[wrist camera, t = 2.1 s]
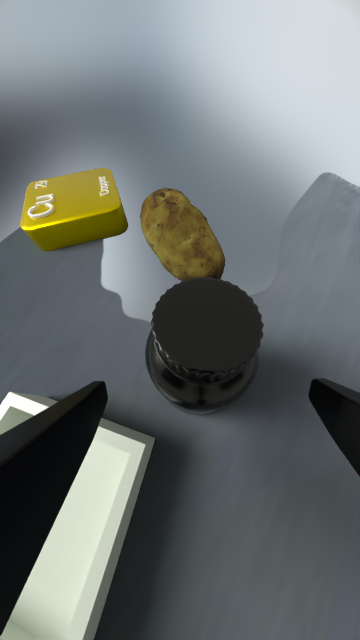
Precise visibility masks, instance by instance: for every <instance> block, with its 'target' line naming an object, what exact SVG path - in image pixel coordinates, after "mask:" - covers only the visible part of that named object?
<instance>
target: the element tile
mask: <svg viewBox="0 0 360 640" xmlns="http://www.w3.org/2000/svg"><path fill="white" fill-rule="evenodd" d="M20 226H21V228H22V229H23V230H24V232H25V233H26V234H27V235H28V236H29V237H30V238H31V239H32V241H33V242H34V243H35V244H36V245H37V246H38V247H39V248H40V250H43V251H52V250H56V249H60V248H64V247H68V246H72V245H76V244H80V243H84V242H88V241H92V240H96V239H101V238H103V239H106V238H110V237H114V236H118V235H121V234H123V233H124V232H125V231H126V230H127V228H128V222H127V219H126V216H125V213H124V209H123V206H122V203H121V200H120V197H119V193H118V190H117V187H116V184H115V181H114V178H113V175H112V172H111V171H110V170H109V169H107V168H99V169H94V170H89V171H84V172H79V173H74V174H69V175H64V176H59V177H54V178H49V179H44V180H39V181H35V182H31V183H30V184H29V186H28V188H27V191H26V196H25V202H24V206H23V211H22V217H21V222H20Z"/></svg>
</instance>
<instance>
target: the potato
mask: <svg viewBox="0 0 360 640" xmlns="http://www.w3.org/2000/svg"><path fill="white" fill-rule="evenodd" d="M140 218H141V227H142V231H143V234H144V236H145V238H146V240H147V242H148V244H149V245H150V247H151V248H152V250H153V251H154V252H155V254H156V255H157V256H158V258H159V259H160V261H161V263H162V265H163V266H164V268H165V269H166V270H167V271H168V272H169V273H171V274H172V275H173V276H174V277H177V278H178V279H179V280H181V281H186V280H189V279H191V278H199V277H203V278H208V277H211V278H214V279H220V278H221V276H222V273H223V270H224V266H225V258H224V254H223V251H222V249H221V247H220V244H219V243H218V241H217V239H216V237H215V235H214V233H213V231H212V230H211V228H210V226H209V224H208V222H207V218H206V217H204V215H203V214H202V212H201V211H200V210H199V209H197V208H196V207H195V206H193V205H192V204H191V203H190V201H189V200H188V198H187V197H186V196H185V195H184V194H183V193H182V192H181V191H178V190H175V189H167V188H164V189H159V190H157V191H155V192H153V193H152V194H150V195H149V196H148V197H147V198H146V199H145V200H144V202H143V204H142V210H141V214H140Z"/></svg>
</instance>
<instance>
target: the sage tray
mask: <svg viewBox="0 0 360 640" xmlns="http://www.w3.org/2000/svg"><path fill="white" fill-rule="evenodd" d="M57 402H58V401H55V400H53V399H50V398H47V397H43V396H36V395H29V394H21V393H14V392H9V393H8V395H7V396H6V398H5V399H4V401H3V402H2V403H1V405H0V435H1V434H3V433H4V432H6V431H8V430H10V429H11V428H13V427H15V426H17V425H18V424H20V423H22V422H24V421H25V420H27V419H29V418H31V417H33V416H34V415H36V414H38V413H40V412H41V411H43V410H45V409H47V408H48V407H50V406H52V405H54V404H55V403H57ZM154 441H155V438H154V437H151V436H148V435H146V434H143V433H140V432H138V431H135V430H132V429H130V428H127V427H124V426H122V425H119V424H116V423H114V422H111V421H108V420H106V419H103V418H101V420H100V423H99V426H98V429H97V431H96V434H95V437H94V439H93V441H92V443H91V446H90V448H89V450H88V452H87V454H86V456H85V458H84V461H83V463H82V465H81V467H80V469H79V471H78V473H77V475H76V478H75V480H74V482H73V484H72V486H71V488H70V490H69V492H68V495H67V497H66V499H65V501H64V503H63V505H62V507H61V510H60V512H59V514H58V516H57V518H56V520H55V522H54V524H53V527H52V529H51V531H50V533H49V535H48V537H47V539H46V541H45V544H44V546H43V548H42V550H41V552H40V554H39V556H38V559H37V561H36V563H35V565H34V567H33V569H32V571H31V573H30V576H29V578H28V580H27V582H26V584H25V586H24V588H23V591H22V593H21V595H20V597H19V599H18V601H17V603H16V605H15V608H14V610H13V612H12V614H11V616H10V618H9V620H8V622H7V625H6V627H5V629H4V631H3V633H2V635H1V636H0V640H94V638H95V634H96V631H97V628H98V624H99V621H100V618H101V615H102V611H103V608H104V605H105V602H106V598H107V595H108V592H109V588H110V585H111V582H112V579H113V575H114V572H115V569H116V566H117V562H118V559H119V556H120V552H121V549H122V546H123V543H124V539H125V536H126V533H127V530H128V526H129V523H130V520H131V516H132V513H133V510H134V507H135V503H136V500H137V497H138V494H139V490H140V487H141V484H142V480H143V477H144V474H145V471H146V467H147V464H148V461H149V458H150V454H151V451H152V448H153V444H154Z"/></svg>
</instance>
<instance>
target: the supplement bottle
mask: <svg viewBox="0 0 360 640" xmlns="http://www.w3.org/2000/svg"><path fill="white" fill-rule="evenodd" d="M155 307H156V308H155V309H154V311H153V312H152V315H153V318H152V321H151V325H152V327H153V328H152V329H151V331H150V334H149V336H148V339H147V343H146V350H145V359H146V365H147V369H148V373H149V375H150V377H151V379H152V381H153V383H154V385H155V386H156V388H157V389H158V390H159V391H160V393H161V394H162V395H163V396H164V397H165V398H166V399H167V400H168V401H169V402H170V403H171V404H172V405H173V406H175V407H176V408H177V409H179V410H181V411H183V412H185V413H188V414H193V415H202V414H207V413H211V412H214V411H217V410H220V409H223V408H225V407H227V406H229V405H231V404H233V403H234V402H236V401H237V400H238V399H240V398H241V397H242V396H243V395H244V394H245V393H246V392H247V390H248V389H249V388H250V386H251V385H252V383H253V381H254V379H255V376H256V373H257V368H258V348H259V347H260V340H261V339H262V337H263V332H262V329H263V326H264V325H263V323H262V321H261V317H262V315H261V314H260V313H259V311H258V306H257V305H256V304H254V302H253V299H252V298H251V297H249V296H248V295H247V293H246V292H245V291H243V290H241V289H240V288H239V287H238V286H236V285H232V284H231V283H230V282H228V281H223V280H221V279H214V278H211V277H208V278H203V277H199V278H191V279H189V280H186V281H182V282H181V283H179V284H175V285H174V286H173V287H172V288H170V289H168V290H167V291H166V293H165V294H164V295H162V296H161V297H160V300H159V301H158V302H157V303H156V306H155Z"/></svg>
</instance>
